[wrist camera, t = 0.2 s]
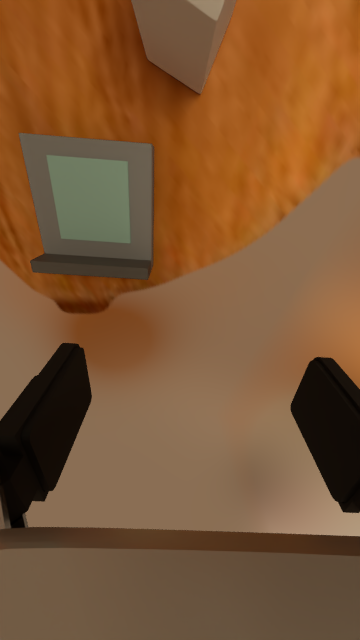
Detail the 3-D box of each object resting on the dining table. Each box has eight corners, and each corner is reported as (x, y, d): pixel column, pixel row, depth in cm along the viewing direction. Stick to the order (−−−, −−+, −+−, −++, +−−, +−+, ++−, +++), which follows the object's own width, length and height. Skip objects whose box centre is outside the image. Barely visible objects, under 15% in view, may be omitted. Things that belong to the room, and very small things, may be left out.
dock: (32, 137, 31) (-5, 125, 25) (154, 147, 31) (147, 138, 25) (56, 258, 39) (32, 272, 33) (153, 265, 39) (147, 279, 33)
